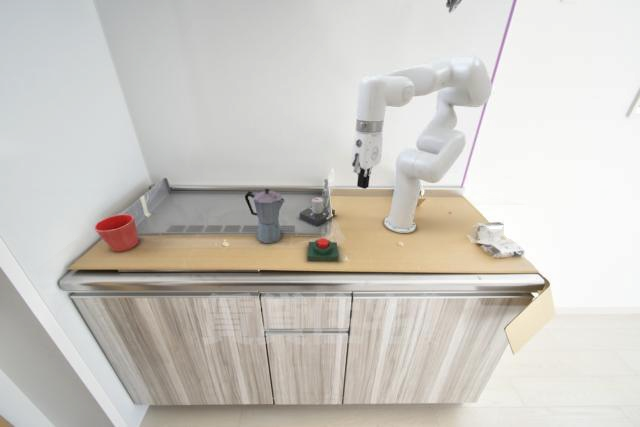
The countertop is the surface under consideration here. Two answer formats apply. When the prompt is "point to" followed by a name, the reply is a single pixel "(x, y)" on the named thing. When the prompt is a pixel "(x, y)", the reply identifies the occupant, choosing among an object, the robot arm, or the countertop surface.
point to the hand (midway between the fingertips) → (362, 186)
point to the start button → (322, 243)
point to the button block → (323, 252)
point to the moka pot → (267, 214)
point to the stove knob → (317, 205)
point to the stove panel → (315, 216)
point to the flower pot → (118, 232)
